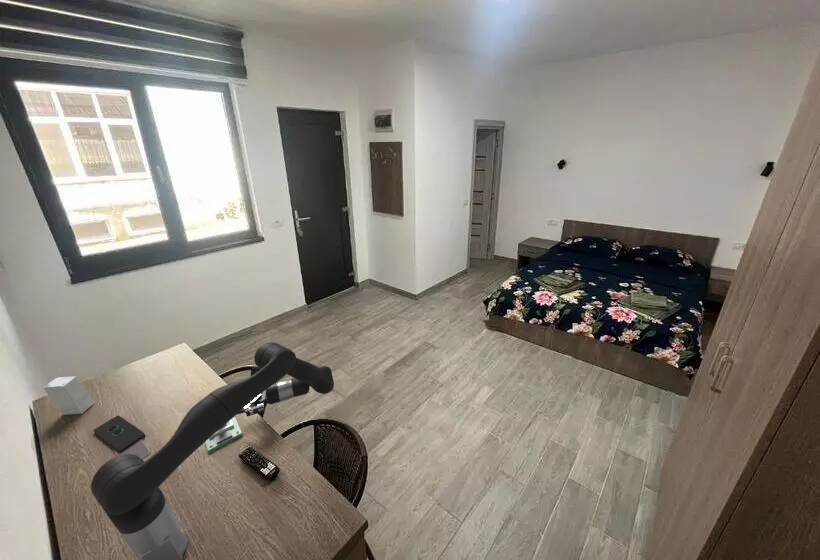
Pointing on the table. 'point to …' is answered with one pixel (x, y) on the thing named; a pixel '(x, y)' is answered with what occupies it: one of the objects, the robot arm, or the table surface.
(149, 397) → the table surface
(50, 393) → the skincare box
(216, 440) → the header board
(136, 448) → the smartphone
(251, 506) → the table surface
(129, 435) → the smart home device
